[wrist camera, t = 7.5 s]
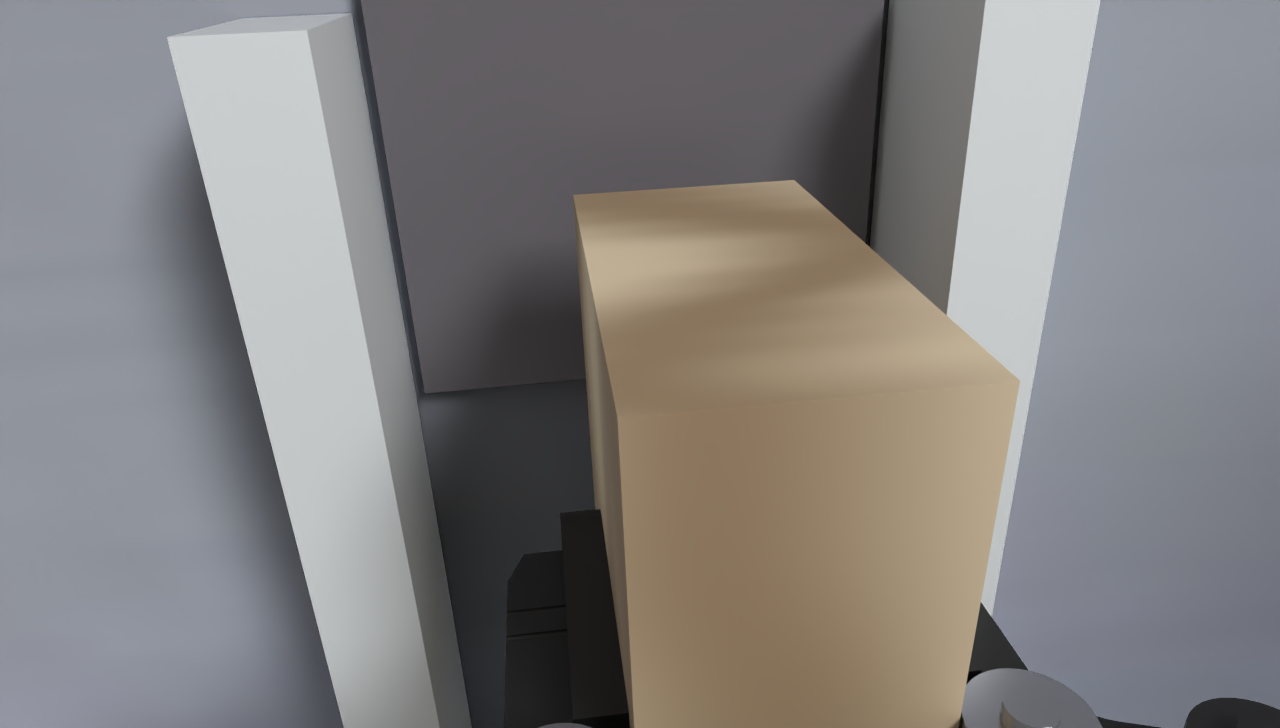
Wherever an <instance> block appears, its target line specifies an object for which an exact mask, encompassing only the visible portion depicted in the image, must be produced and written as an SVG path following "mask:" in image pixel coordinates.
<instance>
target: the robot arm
mask: <svg viewBox="0 0 1280 728" xmlns="http://www.w3.org/2000/svg"><path fill="white" fill-rule="evenodd" d="M560 518H561V534H562V550H561V551H552V552H543V553H533V554H524V556H523V558H522V559H521V561H520V563H519V564H518V566H517V568H516V569H515V571H514V573H513V574H512V576H511V578H510V579H509V581H508V600H507V614H508V617H507V642H506V674H505V711H504V728H630V722H629V710H628V702H627V695H626V688H625V681H624V674H623V666H622V659H621V652H620V645H619V638H618V630H617V623H616V616H615V609H614V602H613V594H612V587H611V580H610V573H609V566H608V558H607V551H606V544H605V537H604V530H603V522H602V515H601V510H600V509H595V510H586V511H576V512H566V513H560ZM958 728H1159V727H1152V726H1145V725H1138V724H1131V723H1124V722H1118V721H1113V720H1108V719H1104V718H1100V717H1097V716H1096V715H1095V714H1094V712H1093V711H1092V709H1091V708H1090V707H1089V706H1088V704H1087V703H1086V702H1085V701H1084V700H1083V699H1082V698H1081V697H1080V696H1078V695H1077V694H1076V693H1075V692H1074V691H1072V690H1071V689H1069V688H1068V687H1066V686H1065V685H1063V684H1061V683H1060V682H1058V681H1056V680H1054V679H1052V678H1049V677H1047V676H1045V675H1042V674H1039V673H1035V672H1032V671H1028V669H1027V668H1026V666H1025V665H1024V663H1023V662H1022V660H1021V659H1020V658H1019V656H1018V655H1017V653H1016V652H1015V650H1014V649H1013V647H1012V646H1011V645H1010V643H1009V642H1008V640H1007V639H1006V637H1005V636H1004V634H1003V633H1002V632H1001V630H1000V629H999V627H998V626H997V624H996V623H995V621H994V620H993V619H992V617H991V616H990V614H989V613H988V611H987V610H986V608H985V607H984V606H983V604H982V603H981V604H980V609H979V615H978V621H977V626H976V632H975V637H974V643H973V649H972V654H971V660H970V666H969V671H968V677H967V682H966V688H965V694H964V699H963V705H962V711H961V716H960V722H959V727H958ZM1184 728H1280V710H1278V709H1276V708H1273V707H1270V706H1268V705H1265V704H1262V703H1258V702H1254V701H1250V700H1245V699H1238V698H1217V699H1211V700H1208V701H1204V702H1202V703H1200V704H1198V705H1197V706H1195V707H1194V708H1193V709H1192V710H1191V711H1190V713H1189V715H1188V717H1187V720H1186V723H1185V726H1184Z"/></svg>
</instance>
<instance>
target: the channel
mask: <svg viewBox="0 0 1280 728" xmlns="http://www.w3.org/2000/svg"><path fill="white" fill-rule="evenodd" d="M361 6H362V12H363V18H364V24H365V30H366V36H367V43H368V49H369V55H370V61H371V67H372V73H373V79H374V86H375V92H376V98H377V104H378V110H379V116H380V122H381V128H382V135H383V141H384V147H385V153H386V159H387V165H388V171H389V178H390V184H391V190H392V196H393V202H394V208H395V214H396V220H397V227H398V233H399V239H400V245H401V251H402V257H403V263H404V270H405V276H406V282H407V288H408V294H409V300H410V306H411V313H412V319H413V325H414V331H415V337H416V343H417V349H418V355H419V362H420V368H421V374H422V380H423V386H424V392H425V394H426V393H437V392H448V391H459V390H470V389H480V388H491V387H502V386H513V385H524V384H535V383H546V382H557V381H568V380H579V379H586V371H585V357H584V343H583V329H582V314H581V300H580V286H579V272H578V258H577V244H576V230H575V216H574V202H573V195H579V194H594V193H609V192H623V191H638V190H653V189H668V188H683V187H698V186H712V185H727V184H742V183H757V182H772V181H786V180H795V181H796V182H797V183H798V184H799V185H800V186H802V187H803V188H804V189H805V190H806V191H807V192H808V193H809V194H811V195H812V196H813V197H814V198H815V199H816V200H817V201H818V202H820V203H821V204H822V205H823V206H824V207H825V208H826V209H827V210H829V211H830V212H831V213H832V214H833V215H834V216H835V217H836V218H838V219H839V220H840V221H841V222H842V223H843V224H844V225H845V226H847V227H848V228H849V229H850V230H851V231H852V232H853V233H854V234H856V235H857V236H858V237H859V238H860V239H861V240H862V241H863V242H865V243H866V232H867V219H868V206H869V193H870V180H871V167H872V154H873V141H874V128H875V115H876V103H877V90H878V77H879V64H880V51H881V38H882V25H883V12H884V0H361ZM1099 6H1100V0H889V12H888V24H887V37H886V49H885V62H884V75H883V87H882V100H881V112H880V125H879V137H878V150H877V162H876V175H875V188H874V200H873V213H872V225H871V238H870V248H871V249H872V250H874V251H875V252H876V253H877V254H878V255H879V256H880V257H881V258H883V259H884V260H885V261H886V262H887V263H888V264H889V265H890V266H892V267H893V268H894V269H895V270H896V271H897V272H898V273H899V274H901V275H902V276H903V277H904V278H905V279H906V280H907V281H908V282H910V283H911V284H912V285H913V286H914V287H915V288H916V289H917V290H919V291H920V292H921V293H922V294H923V295H924V296H925V297H926V298H928V299H929V300H930V301H931V302H932V303H933V304H934V305H935V306H937V307H938V308H939V309H940V310H941V311H942V312H943V313H944V314H946V315H947V316H948V317H949V318H950V319H951V320H952V321H954V322H955V323H956V324H957V325H958V326H959V327H960V328H961V329H963V330H964V331H965V332H966V333H967V334H968V335H969V336H970V337H972V338H973V339H974V340H975V341H976V342H977V343H978V344H979V345H981V346H982V347H983V348H984V349H985V350H986V351H987V352H988V353H990V354H991V355H992V356H993V357H994V358H995V359H996V360H997V361H999V362H1000V363H1001V364H1002V365H1003V366H1004V367H1005V368H1006V369H1008V370H1009V371H1010V372H1011V373H1012V374H1013V375H1014V376H1015V377H1017V378H1018V379H1019V380H1020V384H1019V390H1018V395H1017V401H1016V407H1015V412H1014V418H1013V424H1012V429H1011V435H1010V440H1009V446H1008V452H1007V457H1006V463H1005V469H1004V474H1003V480H1002V485H1001V491H1000V497H999V502H998V508H997V514H996V519H995V525H994V531H993V536H992V542H991V547H990V553H989V559H988V564H987V570H986V576H985V581H984V587H983V592H982V598H981V603H982V604H983V606H984V607H985V608H986V610H987V611H988V613H989V614H990V616H991V617H992V612H993V607H994V601H995V595H996V590H997V584H998V578H999V573H1000V567H1001V561H1002V556H1003V550H1004V544H1005V539H1006V533H1007V527H1008V522H1009V516H1010V510H1011V505H1012V499H1013V493H1014V488H1015V482H1016V476H1017V471H1018V465H1019V459H1020V454H1021V448H1022V442H1023V437H1024V431H1025V425H1026V420H1027V414H1028V408H1029V402H1030V397H1031V391H1032V385H1033V380H1034V374H1035V368H1036V363H1037V357H1038V351H1039V346H1040V340H1041V334H1042V329H1043V323H1044V317H1045V312H1046V306H1047V300H1048V295H1049V289H1050V283H1051V278H1052V272H1053V266H1054V261H1055V255H1056V249H1057V244H1058V238H1059V232H1060V227H1061V221H1062V215H1063V210H1064V204H1065V198H1066V193H1067V187H1068V181H1069V176H1070V170H1071V164H1072V159H1073V153H1074V147H1075V142H1076V136H1077V130H1078V125H1079V119H1080V113H1081V108H1082V102H1083V96H1084V91H1085V85H1086V79H1087V74H1088V68H1089V62H1090V57H1091V51H1092V45H1093V40H1094V34H1095V28H1096V23H1097V17H1098V11H1099ZM167 39H168V43H169V47H170V51H171V55H172V59H173V63H174V67H175V71H176V75H177V78H178V82H179V86H180V90H181V94H182V98H183V102H184V106H185V110H186V114H187V117H188V121H189V125H190V129H191V133H192V137H193V141H194V145H195V149H196V153H197V157H198V160H199V164H200V168H201V172H202V176H203V180H204V184H205V188H206V192H207V196H208V199H209V203H210V207H211V211H212V215H213V219H214V223H215V227H216V231H217V235H218V238H219V242H220V246H221V250H222V254H223V258H224V262H225V266H226V270H227V274H228V278H229V281H230V285H231V289H232V293H233V297H234V301H235V305H236V309H237V313H238V317H239V320H240V324H241V328H242V332H243V336H244V340H245V344H246V348H247V352H248V356H249V359H250V363H251V367H252V371H253V375H254V379H255V383H256V387H257V391H258V395H259V399H260V402H261V406H262V410H263V414H264V418H265V422H266V426H267V430H268V434H269V438H270V441H271V445H272V449H273V453H274V457H275V461H276V465H277V469H278V473H279V477H280V481H281V484H282V488H283V492H284V496H285V500H286V504H287V508H288V512H289V516H290V520H291V523H292V527H293V531H294V535H295V539H296V543H297V547H298V551H299V555H300V559H301V562H302V566H303V570H304V574H305V578H306V582H307V586H308V590H309V594H310V598H311V602H312V605H313V609H314V613H315V617H316V621H317V625H318V629H319V633H320V637H321V641H322V644H323V648H324V652H325V656H326V660H327V664H328V668H329V672H330V676H331V680H332V683H333V687H334V691H335V695H336V699H337V703H338V707H339V711H340V715H341V719H342V723H343V726H344V728H472V726H471V720H470V714H469V708H468V702H467V696H466V690H465V684H464V678H463V672H462V666H461V660H460V654H459V648H458V642H457V636H456V630H455V624H454V618H453V613H452V607H451V601H450V595H449V589H448V583H447V577H446V571H445V565H444V559H443V553H442V547H441V541H440V535H439V529H438V523H437V517H436V511H435V505H434V499H433V494H432V488H431V482H430V476H429V470H428V464H427V458H426V452H425V446H424V440H423V434H422V428H421V422H420V416H419V410H418V404H417V398H416V392H415V386H414V380H413V375H412V369H411V363H410V357H409V351H408V345H407V339H406V333H405V327H404V321H403V315H402V309H401V303H400V297H399V291H398V285H397V279H396V273H395V267H394V261H393V255H392V250H391V244H390V238H389V232H388V226H387V220H386V214H385V208H384V202H383V196H382V190H381V184H380V178H379V172H378V166H377V160H376V154H375V148H374V142H373V136H372V131H371V125H370V119H369V113H368V107H367V101H366V95H365V89H364V83H363V77H362V71H361V65H360V59H359V53H358V47H357V41H356V35H355V29H354V23H353V17H352V13H346V14H325V15H304V16H283V17H262V18H243V19H239V20H235V21H230V22H226V23H222V24H218V25H214V26H210V27H206V28H202V29H198V30H194V31H190V32H186V33H182V34H178V35H174V36H170V37H167Z"/></svg>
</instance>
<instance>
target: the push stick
mask: <svg viewBox="0 0 1280 728" xmlns="http://www.w3.org/2000/svg"><path fill="white" fill-rule="evenodd" d="M573 202H574V216H575V230H576V244H577V258H578V272H579V286H580V300H581V314H582V329H583V343H584V357H585V371H586V385H587V399H588V413H589V427H590V441H591V455H592V469H593V483H594V497H595V509H600V510H601V515H602V522H603V530H604V537H605V544H606V551H607V558H608V566H609V573H610V580H611V587H612V594H613V602H614V609H615V616H616V623H617V630H618V638H619V645H620V652H621V659H622V666H623V674H624V681H625V688H626V695H627V702H628V710H629V722H630V728H958V727H959V722H960V716H961V711H962V705H963V699H964V694H965V688H966V682H967V677H968V671H969V666H970V660H971V654H972V649H973V643H974V637H975V632H976V626H977V621H978V615H979V609H980V604H981V598H982V592H983V587H984V581H985V576H986V570H987V564H988V559H989V553H990V547H991V542H992V536H993V531H994V525H995V519H996V514H997V508H998V502H999V497H1000V491H1001V485H1002V480H1003V474H1004V469H1005V463H1006V457H1007V452H1008V446H1009V440H1010V435H1011V429H1012V424H1013V418H1014V412H1015V407H1016V401H1017V395H1018V390H1019V384H1020V380H1019V379H1018V378H1017V377H1015V376H1014V375H1013V374H1012V373H1011V372H1010V371H1009V370H1008V369H1006V368H1005V367H1004V366H1003V365H1002V364H1001V363H1000V362H999V361H997V360H996V359H995V358H994V357H993V356H992V355H991V354H990V353H988V352H987V351H986V350H985V349H984V348H983V347H982V346H981V345H979V344H978V343H977V342H976V341H975V340H974V339H973V338H972V337H970V336H969V335H968V334H967V333H966V332H965V331H964V330H963V329H961V328H960V327H959V326H958V325H957V324H956V323H955V322H954V321H952V320H951V319H950V318H949V317H948V316H947V315H946V314H944V313H943V312H942V311H941V310H940V309H939V308H938V307H937V306H935V305H934V304H933V303H932V302H931V301H930V300H929V299H928V298H926V297H925V296H924V295H923V294H922V293H921V292H920V291H919V290H917V289H916V288H915V287H914V286H913V285H912V284H911V283H910V282H908V281H907V280H906V279H905V278H904V277H903V276H902V275H901V274H899V273H898V272H897V271H896V270H895V269H894V268H893V267H892V266H890V265H889V264H888V263H887V262H886V261H885V260H884V259H883V258H881V257H880V256H879V255H878V254H877V253H876V252H875V251H874V250H872V249H871V248H870V247H869V246H868V245H867V244H866V243H865V242H863V241H862V240H861V239H860V238H859V237H858V236H857V235H856V234H854V233H853V232H852V231H851V230H850V229H849V228H848V227H847V226H845V225H844V224H843V223H842V222H841V221H840V220H839V219H838V218H836V217H835V216H834V215H833V214H832V213H831V212H830V211H829V210H827V209H826V208H825V207H824V206H823V205H822V204H821V203H820V202H818V201H817V200H816V199H815V198H814V197H813V196H812V195H811V194H809V193H808V192H807V191H806V190H805V189H804V188H803V187H802V186H800V185H799V184H798V183H797V182H796V181H795V180H786V181H772V182H757V183H742V184H727V185H712V186H698V187H683V188H668V189H653V190H638V191H623V192H609V193H594V194H579V195H573Z"/></svg>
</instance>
